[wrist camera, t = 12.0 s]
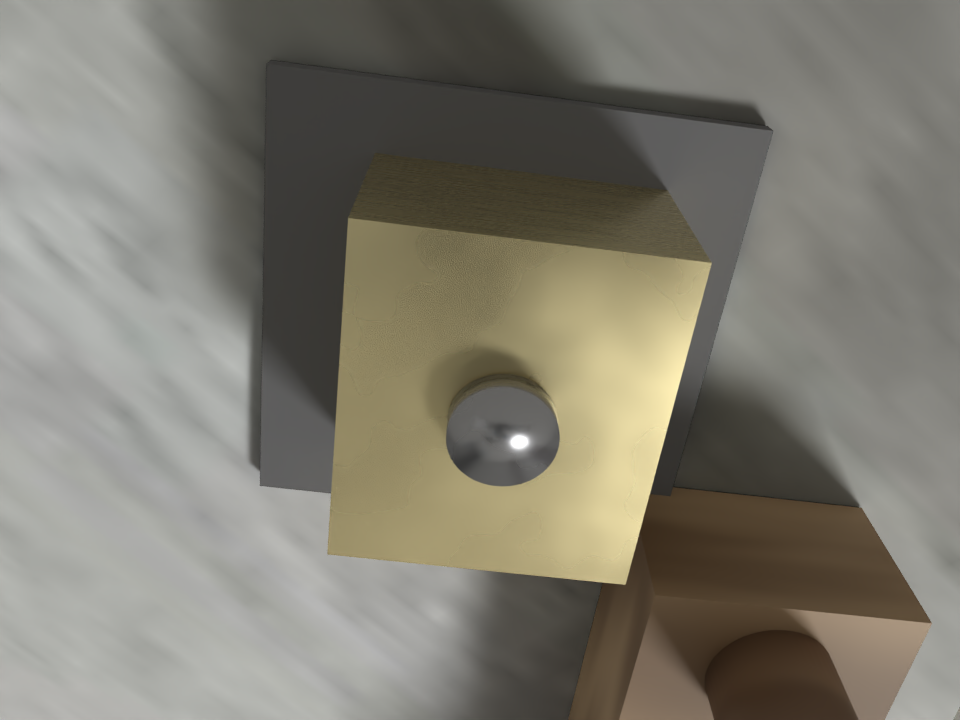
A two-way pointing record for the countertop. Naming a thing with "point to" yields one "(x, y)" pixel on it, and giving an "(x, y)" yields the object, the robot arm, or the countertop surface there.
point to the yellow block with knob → (507, 367)
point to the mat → (471, 141)
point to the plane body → (751, 616)
